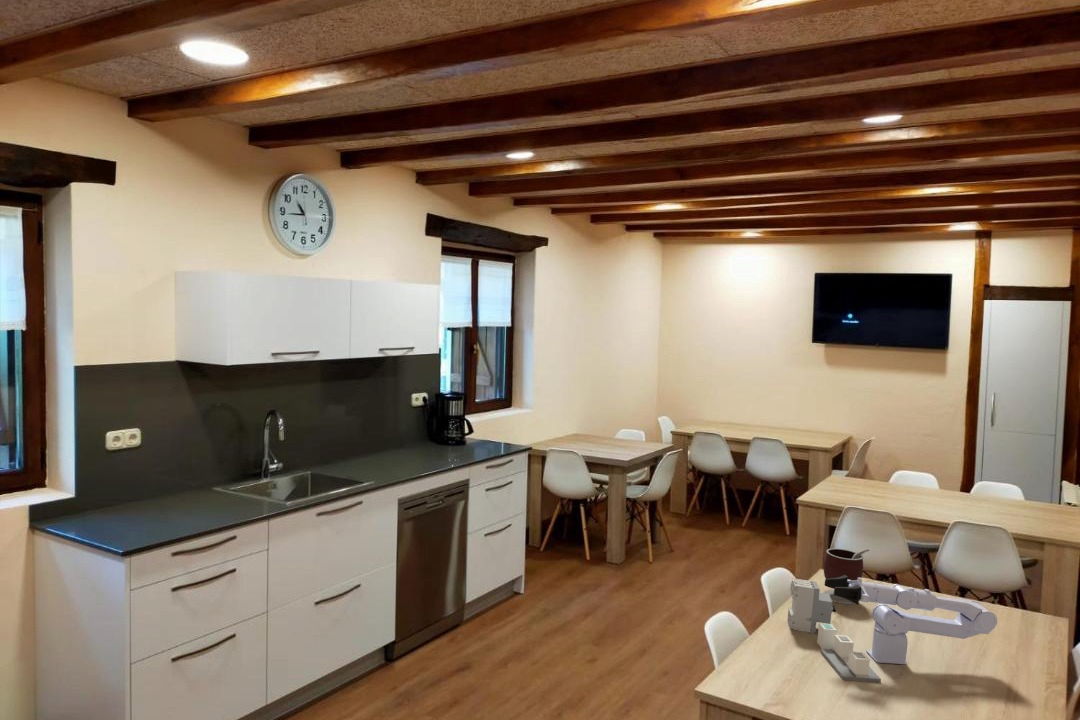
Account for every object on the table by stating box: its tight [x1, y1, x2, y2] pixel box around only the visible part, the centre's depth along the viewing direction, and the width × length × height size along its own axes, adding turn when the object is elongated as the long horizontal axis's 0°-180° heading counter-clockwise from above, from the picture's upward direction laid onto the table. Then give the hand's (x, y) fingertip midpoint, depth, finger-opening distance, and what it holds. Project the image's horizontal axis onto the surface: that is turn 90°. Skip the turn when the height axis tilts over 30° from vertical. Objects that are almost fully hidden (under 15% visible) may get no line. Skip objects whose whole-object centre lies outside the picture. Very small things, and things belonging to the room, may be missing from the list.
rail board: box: [820, 634, 882, 683], centre depth 235 cm, size 11×18×6 cm, turn 0°
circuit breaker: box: [787, 578, 837, 634], centre depth 263 cm, size 8×14×15 cm, turn 78°
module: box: [816, 622, 838, 650], centre depth 249 cm, size 4×4×7 cm
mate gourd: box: [822, 548, 870, 605], centre depth 293 cm, size 16×14×20 cm
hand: (829, 586), depth 242 cm, fingers open, 7 cm apart
